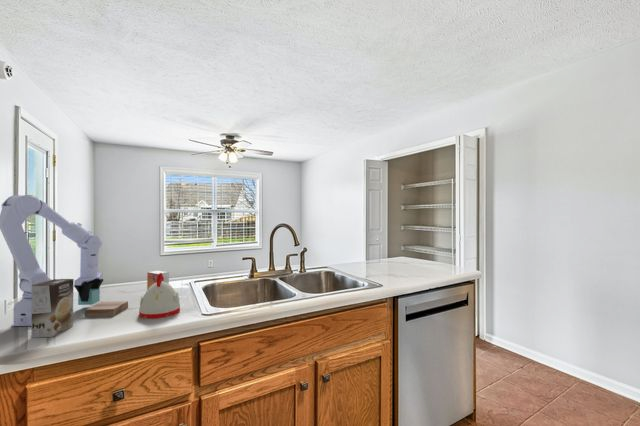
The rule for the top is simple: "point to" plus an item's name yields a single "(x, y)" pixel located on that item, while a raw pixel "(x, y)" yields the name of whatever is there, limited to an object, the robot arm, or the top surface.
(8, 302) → the top surface
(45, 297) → the coffee box
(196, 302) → the top surface
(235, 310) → the top surface
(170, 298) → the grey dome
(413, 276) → the top surface
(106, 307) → the walnut block
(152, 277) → the small box
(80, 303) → the teal cube
